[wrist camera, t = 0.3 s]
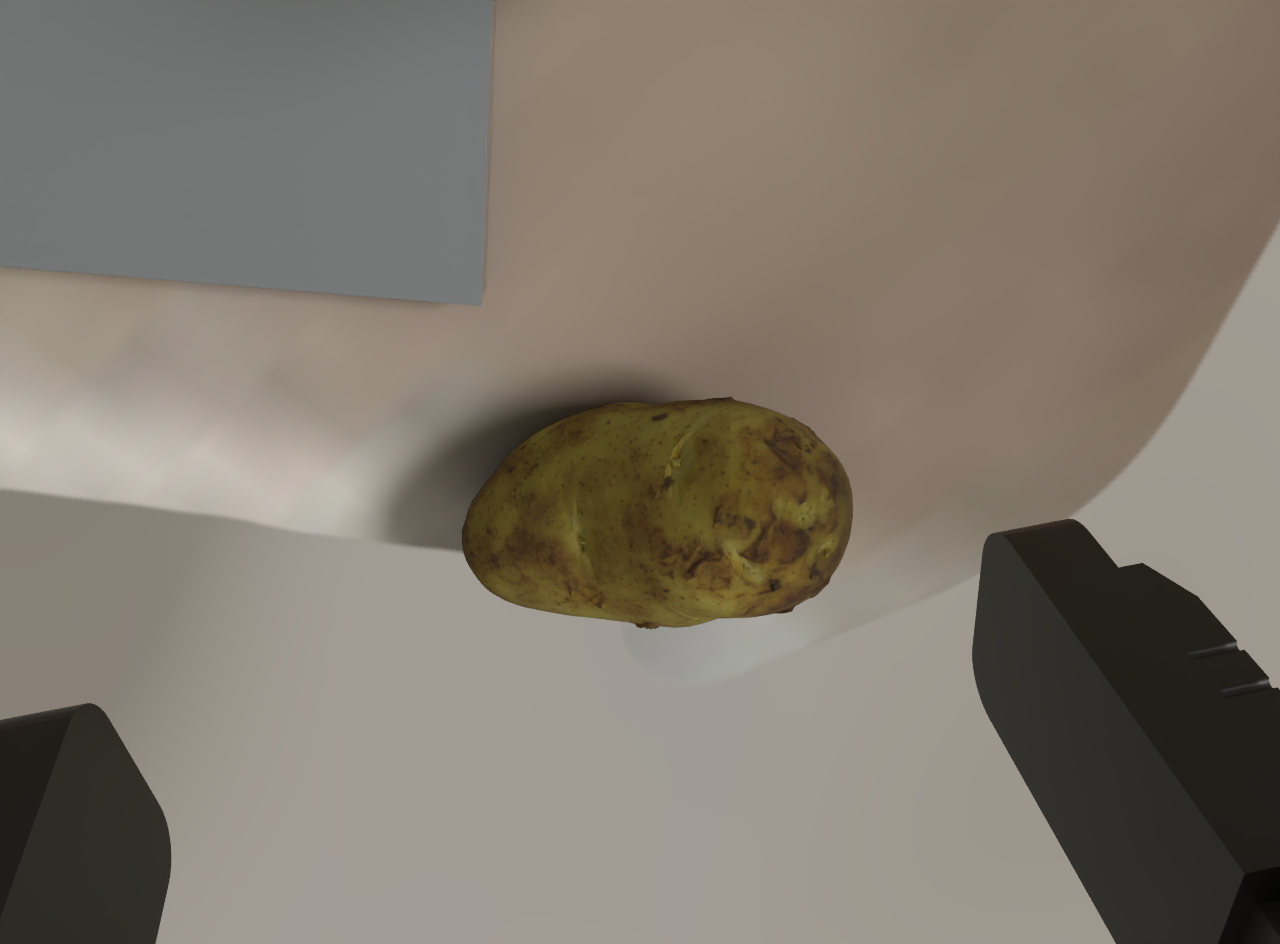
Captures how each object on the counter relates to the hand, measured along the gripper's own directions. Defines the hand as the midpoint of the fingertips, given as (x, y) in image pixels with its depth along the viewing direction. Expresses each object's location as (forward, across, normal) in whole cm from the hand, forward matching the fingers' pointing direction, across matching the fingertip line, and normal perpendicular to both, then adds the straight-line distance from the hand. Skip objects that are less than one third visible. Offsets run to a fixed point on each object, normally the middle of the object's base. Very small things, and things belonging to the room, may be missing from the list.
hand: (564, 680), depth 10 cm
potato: (+25, -3, +16) cm, 30 cm away
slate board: (+28, +9, 0) cm, 30 cm away
